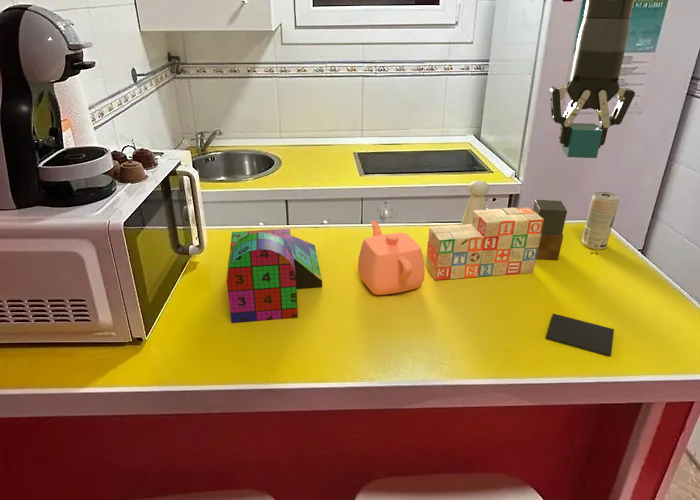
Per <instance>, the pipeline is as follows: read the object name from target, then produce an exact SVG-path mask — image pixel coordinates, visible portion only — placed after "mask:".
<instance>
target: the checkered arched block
mask: <svg viewBox="0 0 700 500" xmlns="http://www.w3.org/2000/svg"><path fill="white" fill-rule="evenodd" d="M230 236H231V238H230V246H229V254H228V263H227V271H226V273H227V274H226V288H227V296H228V297H227V298H228V305H229V313H230V322H231V324H237V323H238V324H239V323H248V322H263V321H274V320H286V319H288V320H289V319H298V316H299V314H298V313H299V311H298V294H297V293H298V292H297V290H301V289H303V290H304V289H316V288H323V279H322V274H321V273H322V272H321V268H320V265H319V259H318V255H317V250H316V245H315V244H313V243H310V242H308V241H306V240H304V239H301V238H298V237H297V236H295V235H292V234H291V228H278V229H277V228H276V229H275V228H274V229H260V230H258V229H257V230H244V231H243V230H241V231H231V235H230Z"/></svg>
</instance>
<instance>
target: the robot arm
mask: <svg viewBox="0 0 700 500" xmlns="http://www.w3.org/2000/svg"><path fill="white" fill-rule="evenodd" d="M634 4H635V0H586V1H585V7H584V12H583V18H582V22H581V25H580V28H579V31H578V36H577V39H576V45H575V46H576V47H575V53H574V58H573V64H572V69H571V75H570V79H569V80H568V81H567V83H566V85H562V86H558V87H556V86H551V87H550V88H549V100H550V115H551V116H550V117H551V120H553V121H554V123H556V124H560V128H559V134H558V142H559V143H560V144H561V147H562V146H563V147H567V146H568V141H569V136H570V130H571V127H570V125H571V124H572V123H574V121H575V118H576V117H577V116H578V115H579V113H580V112H581V110H588V109H590V110H594V111H595V110H596V113H597V119H598V125H597V124H596V125H597V126H598V127H599V128H600V129H601V130H603V131H602V136H601V140H600V145H599V149H601V146H604V144H605V143H606V138H607V136H608V135H607V134H608V130H609V128H610V127H612V126H615V125H616V126H619V125H621V124H622V122H623V120H624V118H625V116H626V114H627V112H628V110H629V108H630V106H631V104H632V101H633V99H634V97H635V96H636V92H635V91H634V90H633V89H631V88H629V87H627V88H625V87H621V86H620V84H619V78H620V75H621V69H622V65H623V61H624V58H625V57H624V56H625V52H626V47H627V42H628V40H629V39H628V38H629V34H630V33H629V32H630V22H631V17H632V12H633V7H634ZM566 93H567V95H568V96H569V98H570V102H569V103H568V106H567V107H566V111H564V114H563V115H562V106H561V105H562V104H561V101H562V100H563V99H564V98H565V95H566ZM616 95H617V97H616V99H617V100H618V101H617V103H616V105H615V107H614V109H613V111H612V113H611V116H610V110H609V109H610V108H609V102H610V101H611V100H612V99H613V98H614V97H615V96H616Z"/></svg>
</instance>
